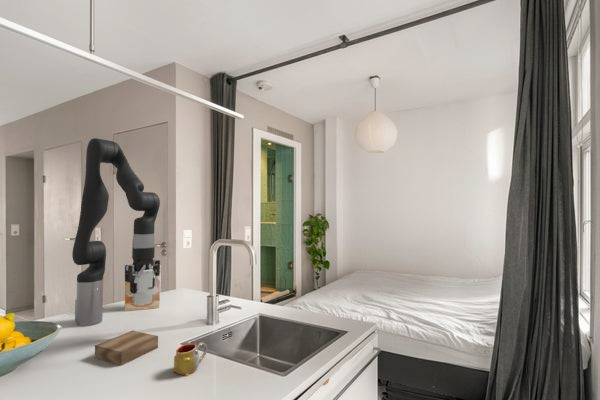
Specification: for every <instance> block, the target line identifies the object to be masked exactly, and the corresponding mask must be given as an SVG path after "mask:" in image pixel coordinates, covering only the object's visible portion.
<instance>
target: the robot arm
mask: <svg viewBox="0 0 600 400" xmlns="http://www.w3.org/2000/svg"><path fill="white" fill-rule="evenodd" d="M101 163H103V164H111V165H113V166H114V167H115V168H116V174H115V179H116V181H117V183H118V185H119V187H120V188H121V189H122V190H123V192H124V194H125V197H126V200H127V204H128V206H129V207H130V208H131V209H132V210H134V211H135V212H143V214H142V216H140V217H136V218H135V219H134V221H133V234H132V244H131V245H132V247H131V248H132V250H131V251H132V252H131V253H132V254H131V258H132V260H133V262H132V263H131V264H125V265H124V283H125V282H130V292H131V293H133V294H135V293H137V283H136V282H137V280H138V278H139V277H140V276H141V274H142V272H143V271H144V270H151V269H152V270H153V281H152V289H153V288H154V286H155V278H156V276H159V274H160V265H161V261H160V260H159V259H154V258H155V255H156V254H155V251H156V250H155V247H156V245H155V244H156V243H155V241H156V238H155V224H156V223H155V222H156V219H157V216H158V213H159V209H160V206H161V200H160V197H159V195H158V194H157V193H155V192H152V191H148V192H147V191H144V189H145V186H144V183H143V181H141V179H140V178H139V177H138V175H137V174H136V173H135V172H134V171H133V169H132V167H131V166H130V164H129V162H128V160H127V157H126V156H125V153H124V152H123V149H122V148H121V146H120V145H119V144H118V143H117V142H115V141H113V140H108V139H103V138H97V137H96V138H91V139H90V140H89V141H88V144H87V148H86V154H85V175H84V176H85V177H84V185H83V191H82V198H81V202H80V203H81V204H80V213H79V220H78V226H77V230H76V234H75V238H74V243H73V246H72V253H71V254H72V255H71V256H72V260H73V263H74V264H75V265H77V266H83V265H84V266H85V265H89V266H88V267H87V268H86V269H85V270H83V271H81V272H80V273H78V274H77V276H76V299H75V301H74V303H75V304H74V306H75V307H74V323H75V324H76V326H78V327H79V326H80V327H82V326H83V327H85V326H86V327H87V326H88V327H89V326H93V325H96V324H99V323H101V322H102V321H103V313H104V311H103V310H104V308H103V307H104V275H105V272H106V261H107V248H106V244H105V243H104V242H103V241H101V240H91V237H92V234H93V232H94V230H95V229H96V227H97V226H98V224H99V223H100V222H101V221H102V219H103V218H104V217H105V215H106V213H107V211H108V208H109V207H108V206H109V200H110V195H109V191H108V189H107V187H106V184H105V183H104V182H103V179H102V175H101V165H102V164H101ZM152 266H153V268H152ZM135 271H137V272H138V274H135Z"/></svg>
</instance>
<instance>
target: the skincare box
mask: <svg viewBox="0 0 600 400" xmlns="http://www.w3.org/2000/svg"><path fill="white" fill-rule="evenodd" d="M135 274H138V272H137V271H135ZM152 281H153V270H152V269H151V270H144V271H143V272H142V274H141V276H140V277H139V278H138V280H137V282H136V283H137V293H135V294H133V304H134V305H138V304H146V303H151V302H152Z"/></svg>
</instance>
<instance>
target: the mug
mask: <svg viewBox="0 0 600 400" xmlns="http://www.w3.org/2000/svg"><path fill="white" fill-rule="evenodd" d="M201 346H203V353H202V355H201V356H199V355H200V353H199V350H198V349H199V348H200V347H201ZM207 353H208V345H207V343H205V342H199V343H198V344H197V345H196V343H193V344H192V343H187V344H182V345H180V346H179V347H178V348H177V349H176V350H175V355H174V357H173V373H176V374H178V375H180V376H181V375H182V376H185V377H189V376H190V375H191V374H194V373H195V372H196V371H197V370H198V368H199V365H200V363H201V362H202V360H203V359H204V358H205V356H206V355H207Z"/></svg>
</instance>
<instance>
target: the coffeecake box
mask: <svg viewBox="0 0 600 400" xmlns="http://www.w3.org/2000/svg"><path fill="white" fill-rule="evenodd" d="M152 268H153V266H152ZM161 268H162V265H161V264H160V274H159V276H156V278H155V286H154V288H153V289H152V302H151V303H146V304H138V305H134V304H133V293H131V292H130V282H125V281H124V283H125V284H124V311H125V312H131V311H140V310H141V311H142V310H151V309H159V308H160V307H161V279H162V278H161V272H162V269H161Z"/></svg>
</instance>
